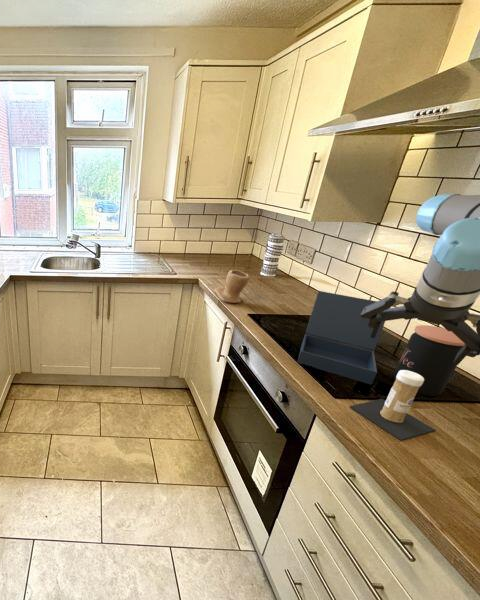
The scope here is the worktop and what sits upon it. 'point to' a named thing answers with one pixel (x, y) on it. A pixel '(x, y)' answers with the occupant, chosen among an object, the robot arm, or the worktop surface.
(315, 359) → the chest
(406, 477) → the worktop surface
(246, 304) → the worktop surface
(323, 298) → the chest lid
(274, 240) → the leaning tower model
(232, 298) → the stone cup
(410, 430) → the mat
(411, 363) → the coffee jar
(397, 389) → the sprinkles bottle
